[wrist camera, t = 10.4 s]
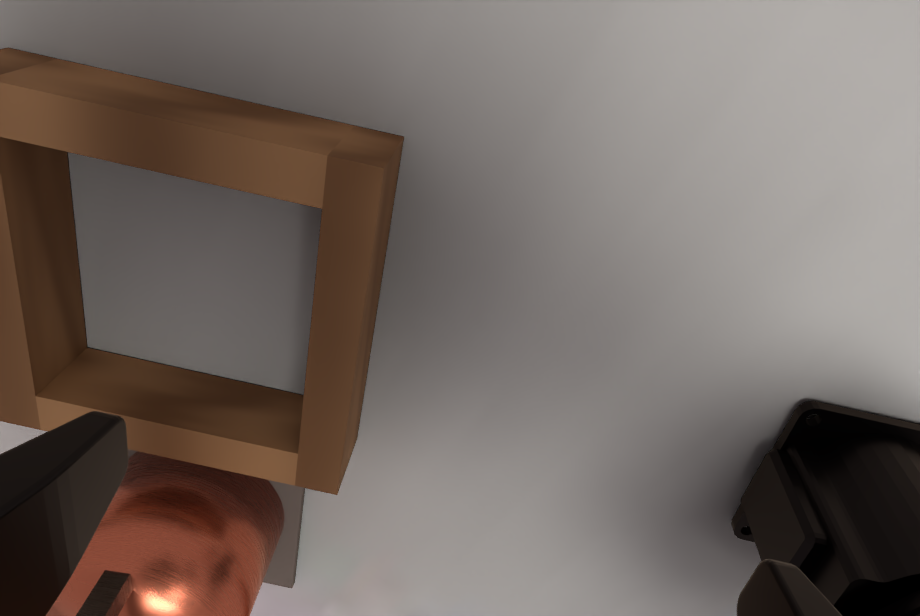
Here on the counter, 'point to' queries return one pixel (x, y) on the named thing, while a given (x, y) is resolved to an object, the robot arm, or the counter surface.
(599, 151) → the counter surface
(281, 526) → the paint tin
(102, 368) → the holder
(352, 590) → the counter surface
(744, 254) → the counter surface
